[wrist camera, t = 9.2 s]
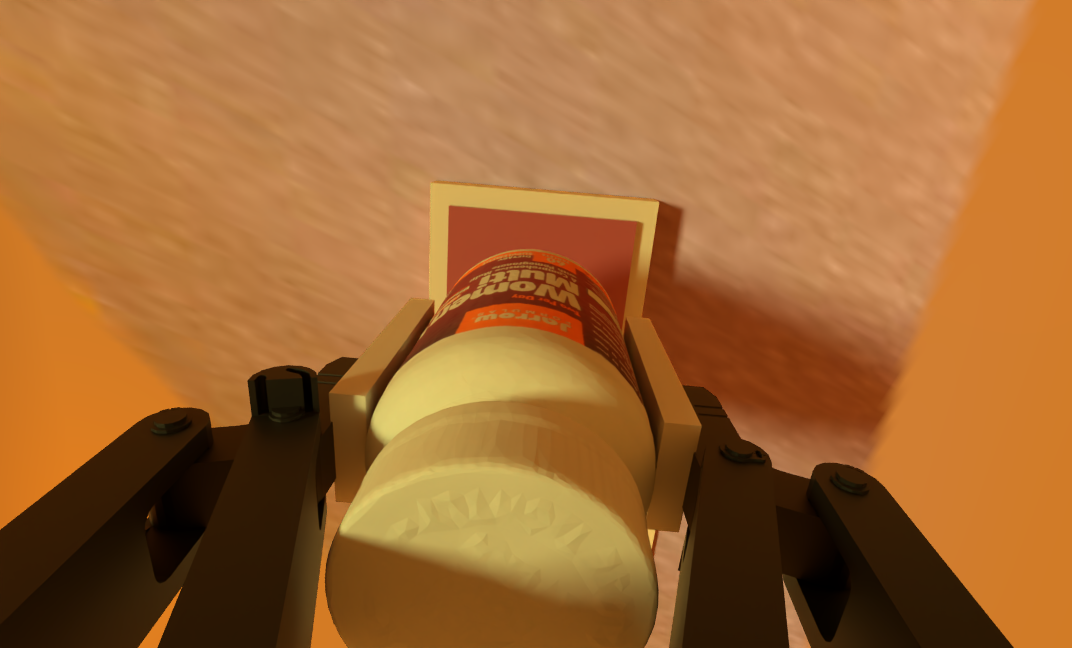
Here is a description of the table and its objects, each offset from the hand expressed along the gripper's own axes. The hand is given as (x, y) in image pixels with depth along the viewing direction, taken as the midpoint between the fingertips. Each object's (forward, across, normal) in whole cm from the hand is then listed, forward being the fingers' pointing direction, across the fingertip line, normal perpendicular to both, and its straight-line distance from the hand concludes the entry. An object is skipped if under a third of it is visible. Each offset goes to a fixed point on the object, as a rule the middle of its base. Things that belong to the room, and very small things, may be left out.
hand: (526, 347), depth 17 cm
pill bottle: (+2, 0, 0) cm, 2 cm away
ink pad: (+6, 0, -1) cm, 6 cm away
